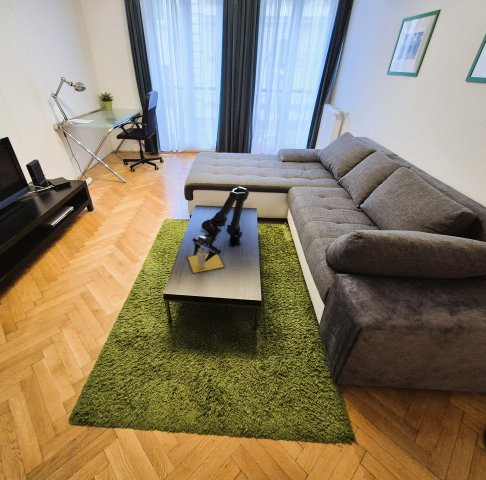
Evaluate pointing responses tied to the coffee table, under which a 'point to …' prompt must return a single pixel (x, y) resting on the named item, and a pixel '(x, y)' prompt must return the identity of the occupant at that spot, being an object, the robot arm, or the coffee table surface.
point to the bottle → (201, 258)
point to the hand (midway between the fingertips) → (199, 258)
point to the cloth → (210, 264)
